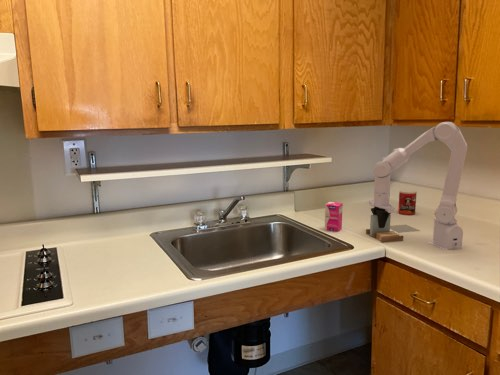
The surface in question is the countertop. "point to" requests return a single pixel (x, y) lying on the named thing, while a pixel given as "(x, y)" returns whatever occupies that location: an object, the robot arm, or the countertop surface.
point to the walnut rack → (385, 239)
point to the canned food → (407, 202)
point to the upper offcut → (387, 234)
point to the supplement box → (333, 216)
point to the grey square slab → (375, 227)
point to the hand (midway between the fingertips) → (380, 227)
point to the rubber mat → (403, 228)
